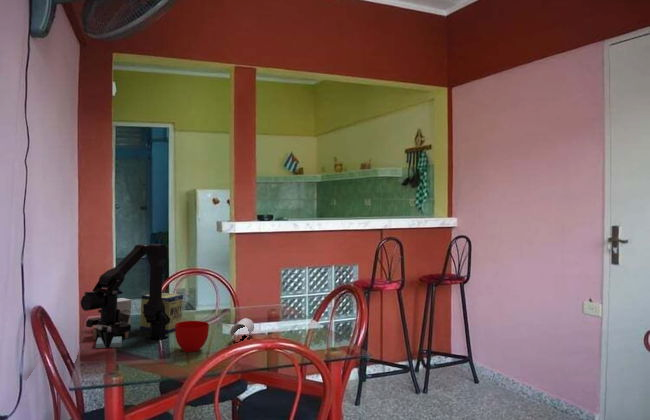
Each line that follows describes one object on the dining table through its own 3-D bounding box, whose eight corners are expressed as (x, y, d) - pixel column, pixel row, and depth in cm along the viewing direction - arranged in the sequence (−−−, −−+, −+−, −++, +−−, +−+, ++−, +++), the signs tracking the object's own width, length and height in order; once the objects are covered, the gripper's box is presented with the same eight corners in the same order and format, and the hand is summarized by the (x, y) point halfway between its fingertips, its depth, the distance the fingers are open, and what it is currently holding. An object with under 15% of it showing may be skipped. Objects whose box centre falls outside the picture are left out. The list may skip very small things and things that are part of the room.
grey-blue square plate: (120, 348, 204) (120, 342, 204) (95, 349, 202) (95, 343, 202) (121, 341, 214) (121, 336, 214) (97, 342, 211) (98, 337, 211)
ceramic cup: (188, 341, 216) (189, 317, 216) (214, 350, 206) (215, 324, 206) (161, 347, 206) (162, 322, 206) (187, 356, 196) (188, 329, 196)
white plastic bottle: (257, 333, 236) (257, 315, 236) (248, 343, 217) (249, 324, 217) (239, 332, 236) (240, 314, 237) (229, 342, 218) (230, 323, 218)
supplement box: (115, 329, 231) (116, 301, 231) (106, 327, 236) (107, 299, 236) (130, 327, 237) (131, 299, 237) (121, 324, 242) (122, 297, 242)
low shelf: (127, 338, 217) (128, 326, 217) (92, 339, 213) (93, 327, 213) (128, 333, 225) (129, 322, 225) (94, 335, 221) (95, 323, 221)
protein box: (168, 333, 229) (170, 298, 229) (139, 329, 234) (140, 294, 234) (182, 328, 239) (183, 294, 239) (154, 324, 244) (155, 291, 244)
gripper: (142, 306, 201) (141, 347, 201) (110, 300, 210) (108, 339, 210) (119, 311, 191) (117, 353, 191) (85, 304, 200) (84, 345, 200)
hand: (107, 347), depth 198 cm, fingers closed
